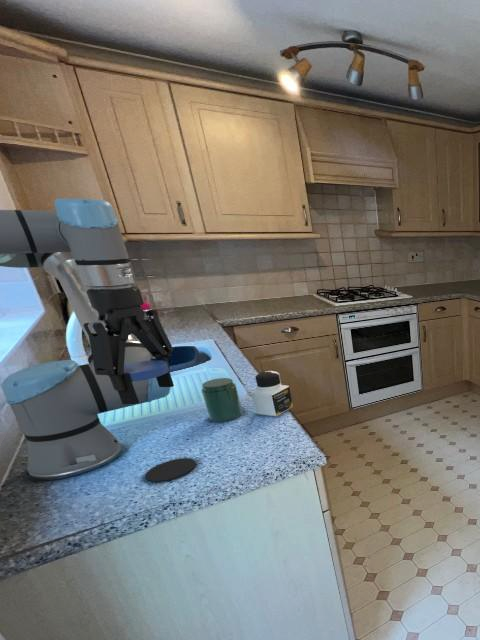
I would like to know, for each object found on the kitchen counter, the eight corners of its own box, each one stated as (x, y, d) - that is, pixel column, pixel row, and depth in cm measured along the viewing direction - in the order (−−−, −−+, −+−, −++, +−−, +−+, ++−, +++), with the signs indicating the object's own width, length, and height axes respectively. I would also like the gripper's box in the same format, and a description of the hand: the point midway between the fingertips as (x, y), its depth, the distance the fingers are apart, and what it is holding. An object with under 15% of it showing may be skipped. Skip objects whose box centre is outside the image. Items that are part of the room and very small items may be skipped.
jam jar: (204, 423, 113) (194, 388, 109) (216, 411, 120) (207, 378, 116) (237, 420, 115) (228, 386, 111) (246, 408, 122) (238, 376, 118)
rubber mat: (134, 482, 87) (133, 480, 87) (167, 459, 96) (167, 457, 96) (176, 483, 88) (175, 481, 87) (205, 460, 96) (205, 458, 96)
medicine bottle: (276, 416, 117) (268, 378, 113) (255, 414, 119) (246, 376, 114) (293, 406, 124) (286, 370, 120) (273, 404, 125) (265, 368, 121)
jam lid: (130, 369, 87) (128, 361, 86) (176, 366, 89) (174, 358, 88) (105, 383, 79) (102, 374, 79) (156, 380, 81) (153, 371, 81)
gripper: (76, 296, 68) (123, 417, 76) (174, 279, 87) (202, 377, 96) (31, 295, 68) (82, 416, 76) (139, 279, 87) (170, 376, 96)
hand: (149, 394), depth 86 cm, fingers closed on jam lid, 8 cm apart
